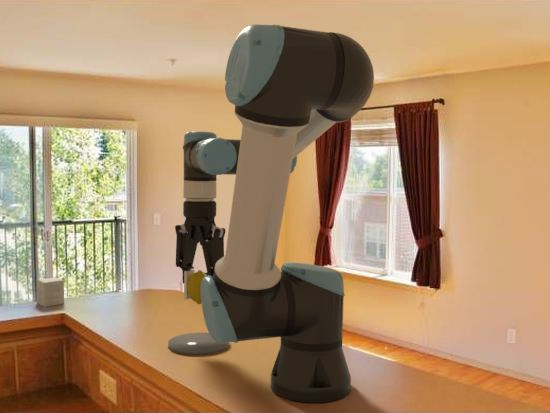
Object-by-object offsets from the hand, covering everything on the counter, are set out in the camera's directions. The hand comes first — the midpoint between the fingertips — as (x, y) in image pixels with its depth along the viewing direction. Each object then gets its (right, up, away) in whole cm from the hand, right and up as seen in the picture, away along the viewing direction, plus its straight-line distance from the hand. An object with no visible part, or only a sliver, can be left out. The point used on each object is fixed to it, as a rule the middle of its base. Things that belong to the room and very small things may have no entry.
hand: (199, 299), depth 130 cm
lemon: (0, -1, 0) cm, 1 cm away
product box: (-50, -8, +39) cm, 64 cm away
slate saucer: (0, -11, +1) cm, 11 cm away
